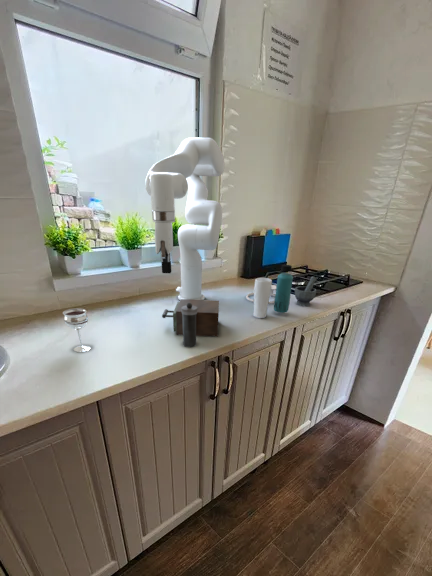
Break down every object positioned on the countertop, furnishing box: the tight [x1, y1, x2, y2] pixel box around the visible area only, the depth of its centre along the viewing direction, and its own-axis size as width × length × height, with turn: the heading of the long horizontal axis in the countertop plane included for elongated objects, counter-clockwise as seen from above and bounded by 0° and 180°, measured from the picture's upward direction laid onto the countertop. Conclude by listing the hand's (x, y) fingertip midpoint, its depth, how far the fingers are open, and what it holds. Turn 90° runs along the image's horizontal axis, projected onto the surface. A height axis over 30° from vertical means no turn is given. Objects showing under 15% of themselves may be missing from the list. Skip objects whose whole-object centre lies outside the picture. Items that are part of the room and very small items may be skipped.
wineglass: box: [62, 308, 91, 353], centre depth 99 cm, size 7×7×12 cm
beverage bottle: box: [273, 264, 294, 314], centre depth 133 cm, size 6×7×20 cm
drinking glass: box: [252, 277, 273, 319], centre depth 130 cm, size 7×7×15 cm
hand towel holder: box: [245, 284, 277, 305], centre depth 156 cm, size 17×4×21 cm
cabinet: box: [176, 299, 220, 338], centre depth 118 cm, size 15×15×9 cm
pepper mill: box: [181, 303, 197, 348], centre depth 104 cm, size 5×5×14 cm
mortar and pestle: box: [294, 276, 317, 307], centre depth 148 cm, size 11×9×12 cm
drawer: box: [161, 301, 180, 333], centre depth 118 cm, size 18×13×7 cm
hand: (166, 272), depth 118 cm, fingers closed
